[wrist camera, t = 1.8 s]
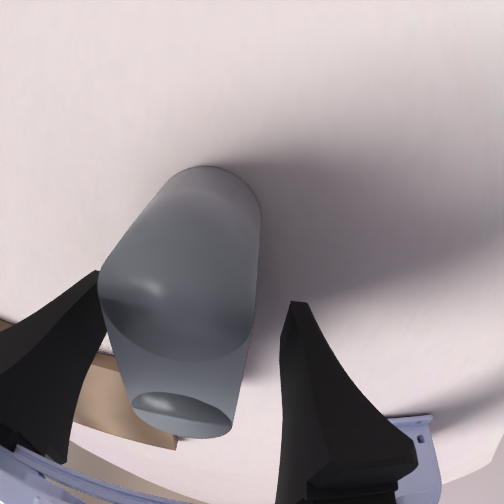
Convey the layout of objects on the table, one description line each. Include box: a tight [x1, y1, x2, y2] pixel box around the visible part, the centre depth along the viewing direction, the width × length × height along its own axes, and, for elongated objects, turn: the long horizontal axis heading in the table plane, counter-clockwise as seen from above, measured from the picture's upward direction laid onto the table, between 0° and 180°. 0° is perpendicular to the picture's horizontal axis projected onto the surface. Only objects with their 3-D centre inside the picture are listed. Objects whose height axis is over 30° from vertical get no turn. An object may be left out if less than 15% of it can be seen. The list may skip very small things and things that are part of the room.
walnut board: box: [0, 320, 178, 451], centre depth 19 cm, size 16×12×1 cm
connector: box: [97, 166, 261, 439], centre depth 12 cm, size 4×13×5 cm, turn 172°
